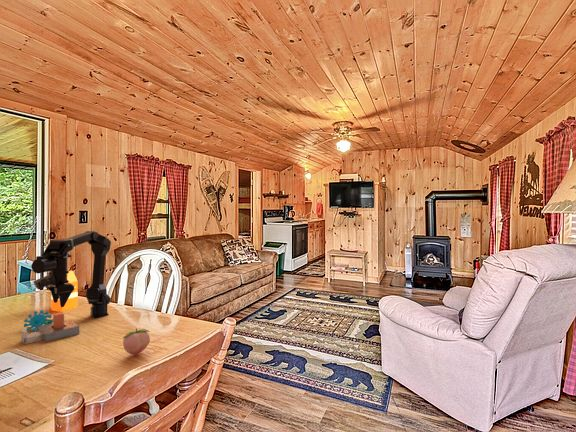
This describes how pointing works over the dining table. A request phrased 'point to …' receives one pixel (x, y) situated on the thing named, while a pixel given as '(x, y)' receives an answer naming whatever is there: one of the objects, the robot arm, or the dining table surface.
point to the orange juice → (72, 299)
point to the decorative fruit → (136, 341)
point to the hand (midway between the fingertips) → (58, 304)
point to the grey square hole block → (58, 331)
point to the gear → (38, 320)
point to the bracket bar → (31, 337)
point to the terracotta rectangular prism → (58, 320)
